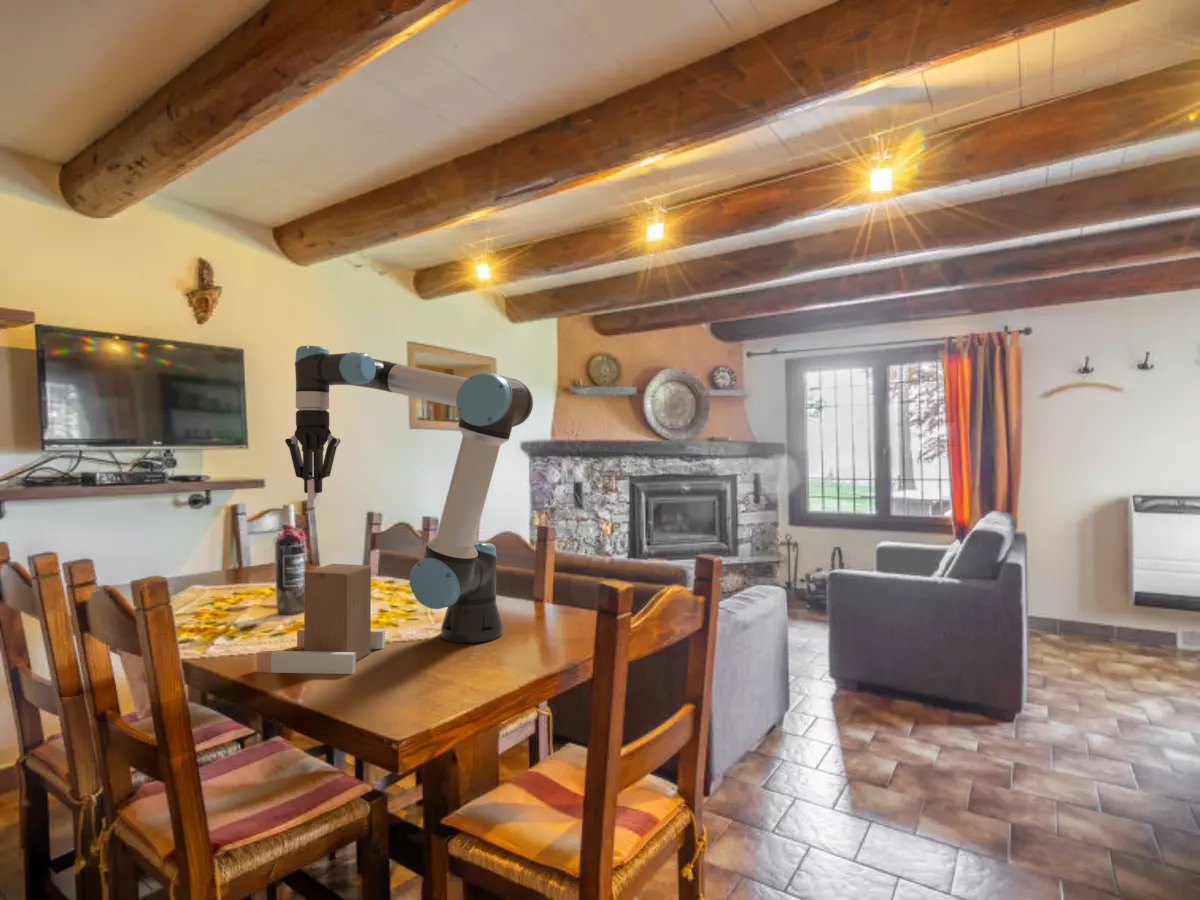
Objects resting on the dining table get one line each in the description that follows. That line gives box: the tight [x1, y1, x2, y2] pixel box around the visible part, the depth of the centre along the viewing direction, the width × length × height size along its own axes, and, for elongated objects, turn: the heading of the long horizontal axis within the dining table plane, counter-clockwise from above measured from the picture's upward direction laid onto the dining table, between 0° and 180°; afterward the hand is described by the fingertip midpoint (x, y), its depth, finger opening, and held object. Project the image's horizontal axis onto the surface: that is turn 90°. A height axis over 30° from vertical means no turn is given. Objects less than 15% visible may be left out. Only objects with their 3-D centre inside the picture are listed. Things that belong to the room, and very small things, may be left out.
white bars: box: [256, 627, 386, 675], centre depth 141 cm, size 20×18×4 cm
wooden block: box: [303, 563, 372, 662], centre depth 141 cm, size 10×10×20 cm
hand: (313, 506), depth 157 cm, fingers closed
